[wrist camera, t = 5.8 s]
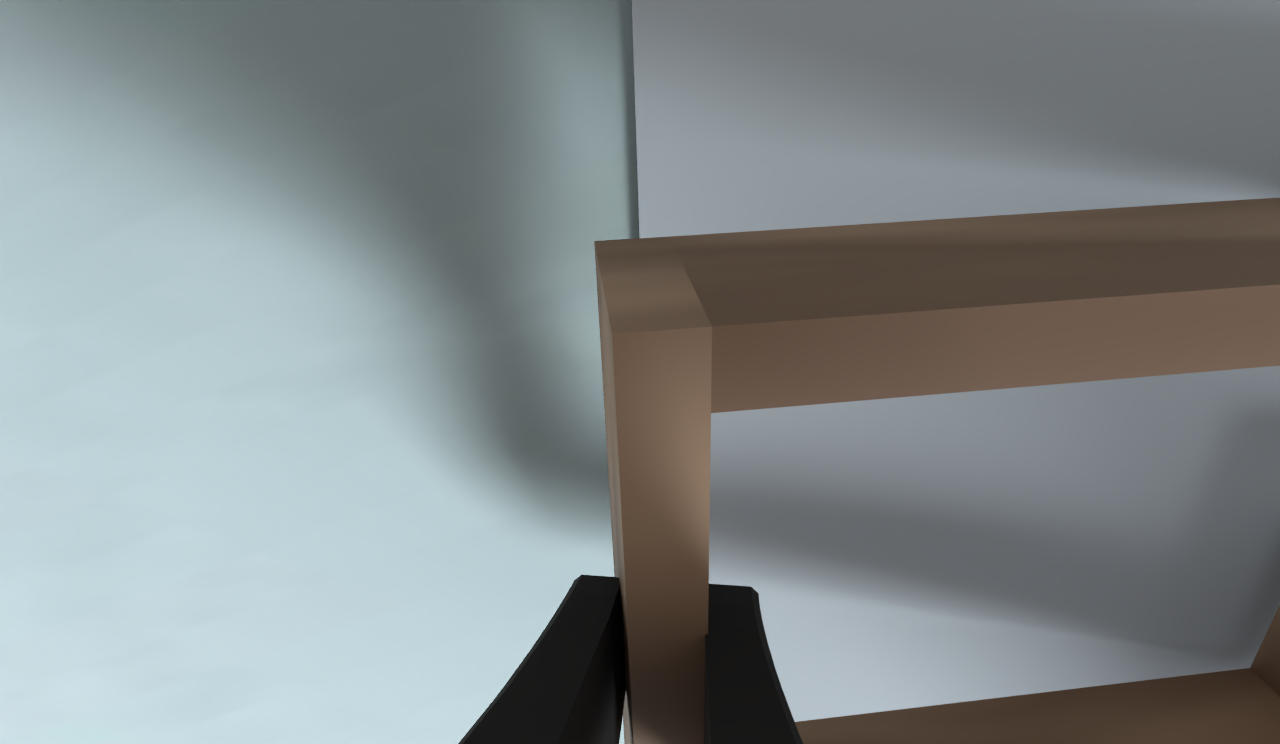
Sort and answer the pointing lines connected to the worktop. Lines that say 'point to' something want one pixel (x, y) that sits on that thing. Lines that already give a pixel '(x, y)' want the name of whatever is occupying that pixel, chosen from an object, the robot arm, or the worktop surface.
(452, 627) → the worktop surface
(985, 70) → the mat
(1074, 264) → the wooden frame
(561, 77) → the worktop surface
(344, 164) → the worktop surface
